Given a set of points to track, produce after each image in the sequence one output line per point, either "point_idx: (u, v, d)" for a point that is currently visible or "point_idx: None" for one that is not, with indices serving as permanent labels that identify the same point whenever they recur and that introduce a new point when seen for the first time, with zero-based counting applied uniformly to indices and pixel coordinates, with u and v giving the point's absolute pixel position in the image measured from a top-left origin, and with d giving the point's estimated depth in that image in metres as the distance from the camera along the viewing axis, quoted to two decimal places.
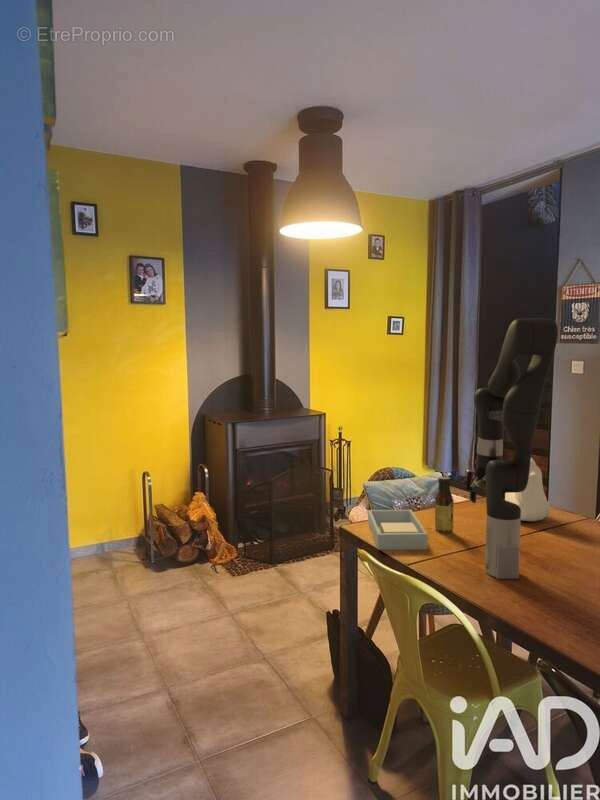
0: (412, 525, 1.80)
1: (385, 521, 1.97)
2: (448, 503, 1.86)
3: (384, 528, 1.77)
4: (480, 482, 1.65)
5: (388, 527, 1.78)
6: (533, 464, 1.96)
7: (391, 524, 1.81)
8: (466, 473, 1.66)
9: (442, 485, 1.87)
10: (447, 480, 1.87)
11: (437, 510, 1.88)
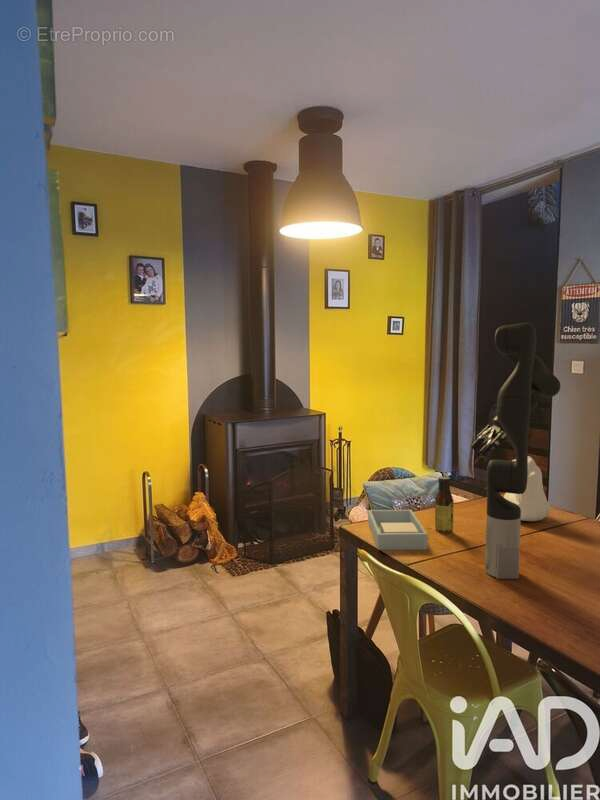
0: (412, 525, 1.80)
1: (385, 521, 1.97)
2: (448, 503, 1.86)
3: (384, 528, 1.77)
4: (484, 432, 1.89)
5: (388, 527, 1.78)
6: (533, 464, 1.96)
7: (391, 524, 1.81)
8: None
9: (442, 485, 1.87)
10: (447, 480, 1.87)
11: (437, 510, 1.88)
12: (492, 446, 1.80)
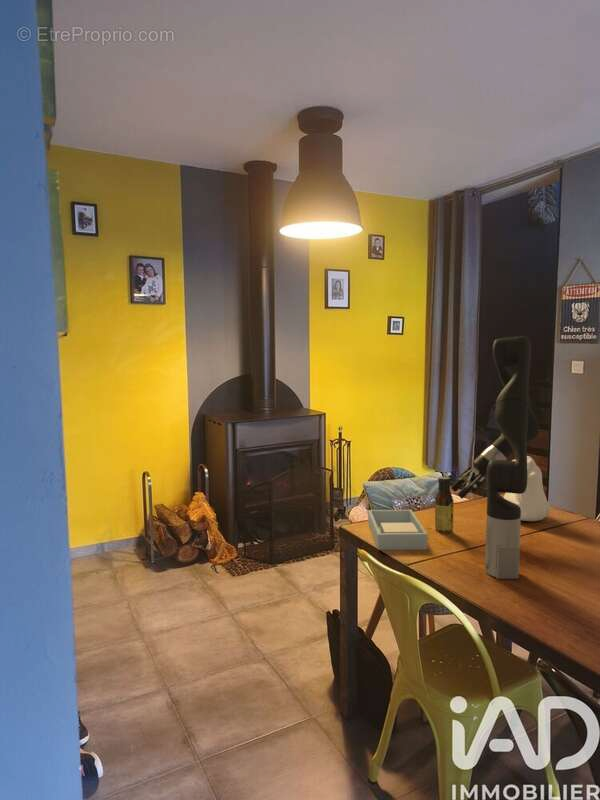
0: (412, 525, 1.80)
1: (385, 521, 1.97)
2: (448, 503, 1.86)
3: (384, 528, 1.77)
4: (464, 474, 1.91)
5: (388, 527, 1.78)
6: (533, 464, 1.96)
7: (391, 524, 1.81)
8: None
9: (442, 485, 1.87)
10: (447, 480, 1.87)
11: (437, 510, 1.88)
12: (470, 489, 1.82)
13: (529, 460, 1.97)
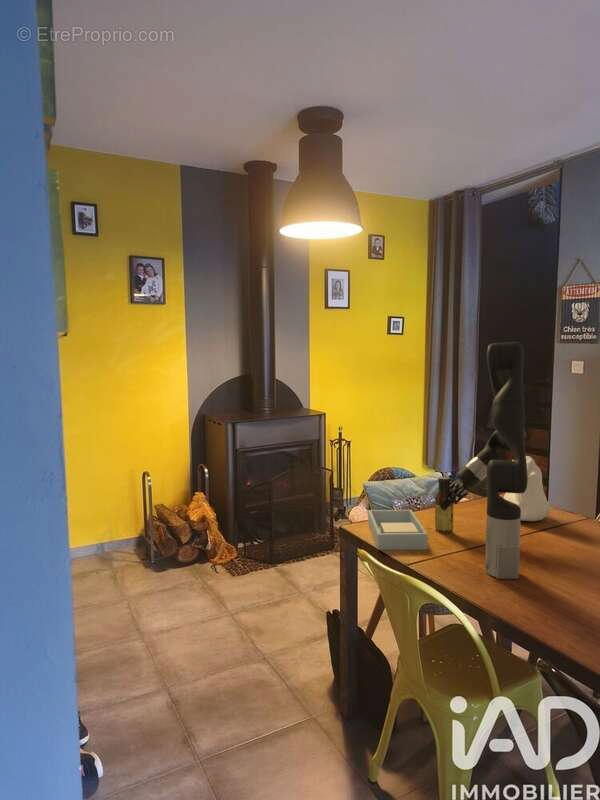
0: (412, 525, 1.80)
1: (385, 521, 1.97)
2: None
3: (384, 528, 1.77)
4: None
5: (388, 527, 1.78)
6: (533, 464, 1.96)
7: (391, 524, 1.81)
8: None
9: (442, 485, 1.87)
10: (447, 480, 1.87)
11: (437, 510, 1.88)
12: (452, 501, 1.84)
13: (529, 460, 1.97)
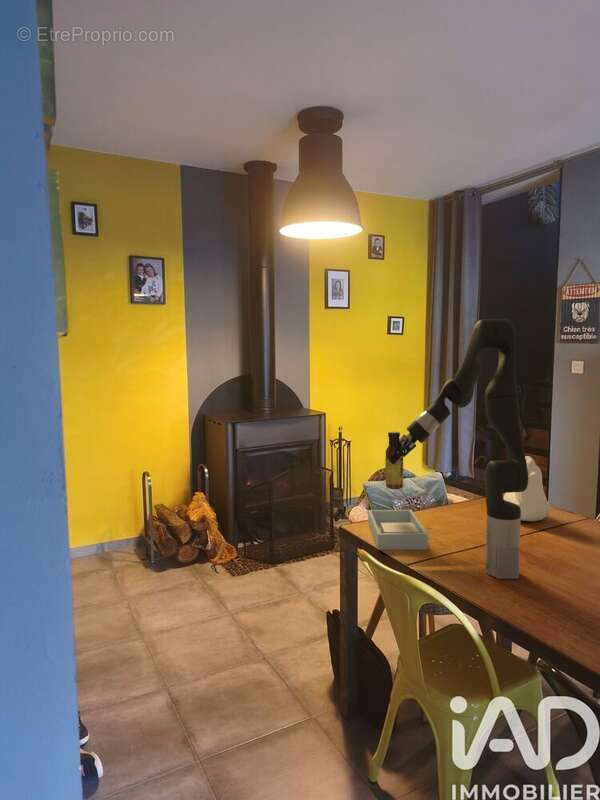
0: (412, 525, 1.80)
1: (385, 521, 1.97)
2: None
3: (384, 528, 1.77)
4: (399, 441, 1.91)
5: (388, 527, 1.78)
6: (533, 464, 1.96)
7: (391, 524, 1.81)
8: None
9: (392, 439, 1.87)
10: (396, 434, 1.86)
11: (387, 464, 1.87)
12: (400, 454, 1.83)
13: (529, 460, 1.97)
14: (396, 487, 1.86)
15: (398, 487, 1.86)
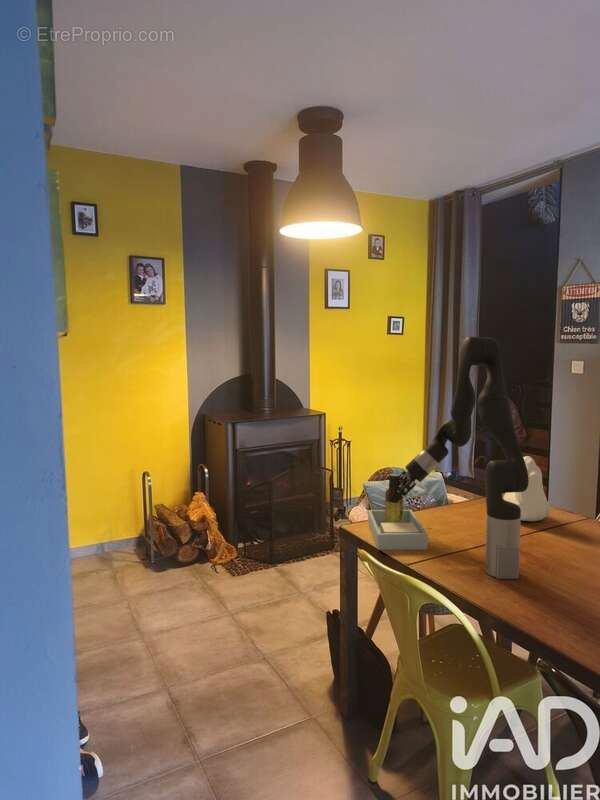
0: (412, 525, 1.80)
1: None
2: (397, 500, 1.87)
3: (384, 528, 1.77)
4: None
5: (388, 527, 1.78)
6: (533, 464, 1.96)
7: (391, 524, 1.81)
8: None
9: (392, 482, 1.88)
10: (397, 477, 1.87)
11: (387, 507, 1.89)
12: (401, 494, 1.83)
13: (529, 460, 1.97)
14: None
15: None
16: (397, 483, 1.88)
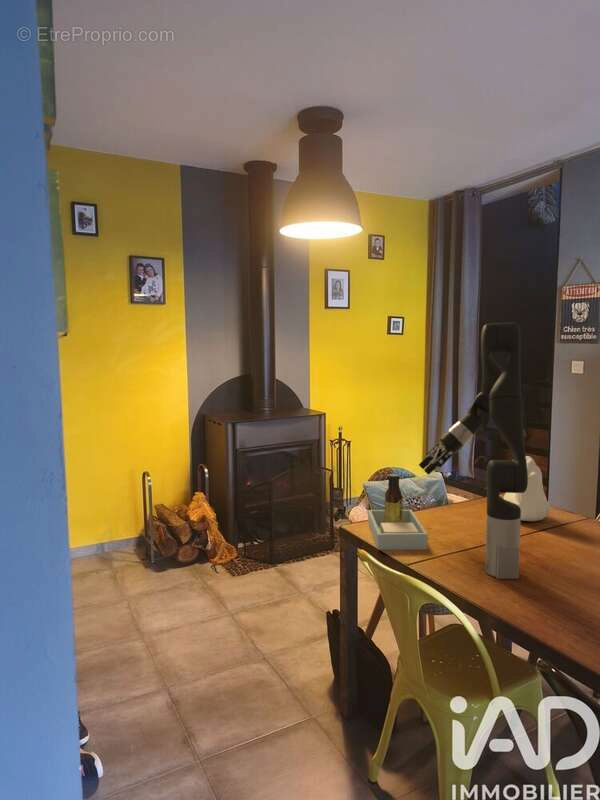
0: (412, 525, 1.80)
1: None
2: (397, 500, 1.87)
3: (384, 528, 1.77)
4: (432, 450, 1.91)
5: (388, 527, 1.78)
6: (533, 464, 1.96)
7: (391, 524, 1.81)
8: None
9: (391, 482, 1.88)
10: (396, 477, 1.87)
11: (386, 507, 1.88)
12: (436, 465, 1.82)
13: (529, 460, 1.97)
14: None
15: None
16: (396, 483, 1.88)
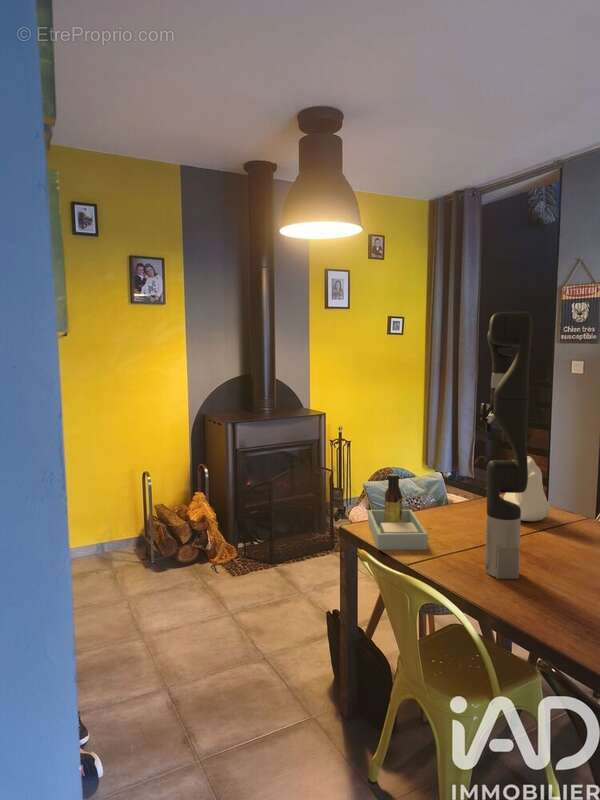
0: (412, 525, 1.80)
1: None
2: (396, 500, 1.87)
3: (384, 528, 1.77)
4: None
5: (388, 527, 1.78)
6: (533, 464, 1.96)
7: (391, 524, 1.81)
8: (481, 406, 1.82)
9: (391, 482, 1.88)
10: (396, 477, 1.88)
11: (386, 507, 1.89)
12: None
13: (529, 460, 1.97)
14: None
15: None
16: (396, 483, 1.88)
